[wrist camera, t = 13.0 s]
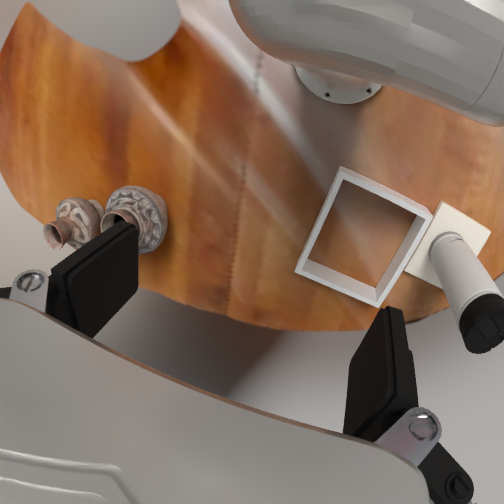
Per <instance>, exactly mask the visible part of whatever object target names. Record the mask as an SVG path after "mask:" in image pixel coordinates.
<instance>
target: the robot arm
mask: <svg viewBox="0 0 504 504" xmlns="http://www.w3.org/2000/svg"><path fill="white" fill-rule="evenodd" d="M229 4H230V7H231V10H232V13H233V15H234V17H235V19H236V21H237V23H238V24H239V26H240V28H241V29H242V31H243V32H244V33H245V34H246V36H247V37H248V38H249V39H250V40H251V41H252V42H253V43H254V44H255V45H256V46H257V47H259V48H260V49H261V50H263V51H264V52H265V53H267V54H269V55H270V56H272V57H274V58H276V59H278V60H280V61H283V62H285V63H288V64H291V65H294V67H295V69H296V72H297V75H298V76H299V78H300V80H301V81H302V83H303V84H304V85H305V86H306V87H307V88H308V89H309V90H310V91H311V92H312V93H314V94H315V95H317V96H318V97H320V98H322V99H324V100H327V101H330V102H333V103H339V104H352V103H357V102H361V101H363V100H366V99H368V98H369V97H371V96H373V95H374V94H375V93H376V92H377V91H378V90H379V89H380V88H381V87H382V85H383V86H386V85H387V86H390V87H393V88H396V89H399V90H401V91H404V92H407V93H409V94H412V95H414V96H417V97H419V98H422V99H424V100H427V101H429V102H432V103H435V104H437V105H439V106H441V107H444V108H446V109H448V110H451V111H453V112H456V113H458V114H460V115H462V116H464V117H467V118H469V119H471V120H474V121H476V122H479V123H481V124H484V125H488V126H493V127H504V0H229ZM367 89H369V90H370V93H368V92H367ZM326 93H329V94H330V96H329V97H327V96H326ZM138 238H139V232H138V230H137V229H136V226H135V225H134V224H132V223H129V222H126V221H123V220H121V221H119V222H117V223H116V224H114V225H113V226H111V227H110V228H108V229H107V230H105V231H104V232H102V233H101V234H99V235H98V236H96V237H95V238H93V239H92V240H91V241H89V242H88V243H86V244H85V245H83V246H82V247H81V248H79V249H78V250H76V251H75V252H73V253H72V254H71V255H69V256H68V257H67V258H65V259H64V260H63V261H61V262H60V263H58V264H57V265H56V266H54V267H53V268H52V269H51V273H52V274H51V275H50V276H49V277H48V275H47V274H46V273H45V272H43V271H41V270H28V271H25V272H23V273H21V274H19V275H18V276H17V277H16V278H15V280H14V282H13V285H12V287H6V288H0V504H472V502H471V499H472V497H473V492H474V487H473V482H472V480H471V478H470V476H469V475H468V474H467V473H466V472H465V470H464V469H463V468H462V467H461V466H460V465H459V464H458V463H457V462H456V461H455V460H454V458H452V456H451V455H450V454H449V453H448V452H447V451H446V450H445V449H444V448H443V446H442V445H441V444H440V443H439V442H438V441H439V439H440V437H441V432H442V428H441V424H440V422H439V420H438V418H437V417H436V415H435V414H434V413H432V412H431V411H430V410H428V409H425V408H423V407H419V405H418V395H417V386H416V378H415V369H414V361H413V355H412V351H410V350H409V348H408V343H407V335H406V329H405V322H404V317H403V312H402V310H400V309H397V308H394V307H390V306H387V307H386V308H385V309H383V308H381V309H380V310H379V312H378V313H377V315H376V317H375V319H374V321H373V323H372V324H371V326H370V328H369V330H368V332H367V334H366V335H365V337H364V339H363V340H362V342H361V344H360V346H359V347H358V349H357V351H356V352H355V354H354V356H353V357H352V359H351V362H350V365H349V376H348V388H347V399H346V410H345V418H344V428H343V434H342V433H339V432H334V431H331V430H327V429H323V428H319V427H315V426H312V425H308V424H305V423H301V422H298V421H295V420H291V419H288V418H284V417H281V416H278V415H274V414H271V413H268V412H265V411H261V410H259V409H255V408H253V407H249V406H246V405H244V404H241V403H238V402H235V401H232V400H229V399H226V398H224V397H221V396H219V395H216V394H213V393H211V392H208V391H205V390H203V389H200V388H198V387H195V386H192V385H190V384H188V383H185V382H183V381H181V380H178V379H176V378H173V377H171V376H169V375H167V374H164V373H162V372H160V371H157V370H155V369H153V368H151V367H149V366H146V365H144V364H142V363H140V362H138V361H136V360H134V359H132V358H129V357H127V356H125V355H123V354H121V353H119V352H117V351H115V350H113V349H111V348H109V347H107V346H105V345H103V344H101V343H99V342H97V341H96V340H94V339H93V337H94V336H95V335H96V334H97V333H98V332H99V331H100V330H101V329H102V328H103V327H104V326H105V325H106V323H107V322H108V321H109V320H110V319H111V318H112V317H113V316H114V315H115V314H116V313H117V312H118V311H119V310H120V309H121V308H122V306H123V305H124V304H125V303H126V302H127V301H128V300H129V299H130V298H131V297H132V296H133V295H134V294H135V293H136V291H137V289H138ZM474 504H477V503H474Z"/></svg>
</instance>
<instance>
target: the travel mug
mask: <svg viewBox="0 0 504 504" xmlns="http://www.w3.org/2000/svg"><path fill="white" fill-rule="evenodd" d="M429 258H430V261H431V263H432V265H433V267H434V269H435V272H436V274H437V276H438V278H439V281H440V283H441V285H442V288H443V290H444V292H445V295H446V297H447V300H448V302H449V304H450V307H451V309H452V312H453V315H454V317H455V320H456V322H457V325H458V327H459V330H460V332H461V334H462V337H463V340H464V343H465V346H466V348H467V350H468V351H470V352H472V353H475V354H481V353H486V352H488V351H490V350H491V348H494V347H496V346H497V345H499V344H500V343H501V342H502V341H503V340H504V297H503V296H502V294H501V292H500V291H499V289H498V288H497V286H496V285H495V283H494V281H493V280H492V278H491V277H490V275H489V274H488V272H487V271H486V270H485V268H484V267H483V265H482V264H481V262H480V261H479V259H478V258H477V257H476V255H475V254H474V252H473V251H472V250H471V248H470V247H469V246H468V244H467V243H466V242H465V240H464V239H463V238H462V236H461V235H459V234H458V233H456V232H452V231H448V232H444V233H441V234H440V235H438V236H437V237H436V238H435V239H434V240H433V242H432V243H431V245H430V249H429Z"/></svg>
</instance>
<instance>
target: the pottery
mask: <svg viewBox="0 0 504 504" xmlns="http://www.w3.org/2000/svg"><path fill="white" fill-rule="evenodd" d="M121 220H123V221H126V222H129V223H132V224H134V225H135V226H136V229H137V230H138V232H139V238H138V254H147V253H150V252H152V251H154V250H155V249H156V248H157V247H158V246H159V245H160V243H161V242H162V241H163V239H164V237H165V234H166V231H167V226H168V216H167V206H166V203H165V201H164V200H163V199H162V198H161V197H160V196H159V195H157V194H155V193H154V192H152V191H151V190H149V189H147V188H144V187H140V186H125V187H122V188H119V189H117V190H116V191H114V192H113V193H112V194H111V196H110V197H109V199H108V201H107V204H106V209H105V214H104V210H103V208H102V206H101V205H100V203H99V202H97V201H96V200H93V199H90V200H86V199H83V198H75V197H74V198H66V199H64V200H62V201H61V202H60V203H59V205H58V207H57V210H56V221H54V222H50V223H47V224H46V225H45V226H44V237H45V239H46V241H47V243H48V244H49V246H50V247H51V248H52V249H54V250H60V249H61V248H62V247H63V245H64V244H65V243H66V242H67V243H68V244H69V245H71V246H72V247H74V248H77V249H79V248H81V247H82V246H83V245H85V244H86V243H88V242H89V241H91V240H92V239H93V238H95V237H96V235H97V233H98V231H99V227H100V226H101V233H102V232H104V231H105V230H107V229H108V228H110V227H111V226H113V225H114V224H116V223H117V222H119V221H121Z"/></svg>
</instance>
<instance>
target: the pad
mask: <svg viewBox="0 0 504 504" xmlns="http://www.w3.org/2000/svg"><path fill="white" fill-rule="evenodd" d="M448 231H452V232H456V233H458V234H459V235H461V236H462V238H463V239H464V240H465V242H466V243H467V244H468V246H469V247H470V248H471V250H472V251H473V252H474V254H475V255H476V257H477V256H478V254H479V252H480V251H481V249H482V247H483V245H484V244H485V242H486V240H487V239H488V237H489V235H490V233H491V231H490V230H489V229H487V228H486V227H484V226H483V225H481V224H480V223H478V222H476V221H475V220H473V219H472V218H470V217H468V216H467V215H465V214H463V213H462V212H460V211H458V210H457V209H455V208H453V207H452V206H450V205H448V204H447V203H445V202H443V201H440V203H439V205H438V207H437V208H436V210H435V212H434V214H433V218H432V220H431V222H430V224H429V226H428V228H427V229H426V231H425V233H424V235H423V237H422V238H421V240H420V242H419V244H418V245H417V247H416V249H415V251H414V252H413V254H412V256H411V257H410V259H409V261H408V263H407V264H406V266H405V267H404V271H406V272H408V273H410V274H412V275H414V276H416V277H418V278H420V279H422V280H425V281H427V282H429V283H431V284H433V285H435V286H437V287H439V288H441V289H443V288H442V285H441V283H440V281H439V278H438V276H437V274H436V272H435V269H434V267H433V265H432V263H431V261H430V258H429V249H430V245H431V243H432V242H433V240H434V239H435V238H436V237H437V236H438V235H440V234H441V233H444V232H448Z"/></svg>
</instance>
